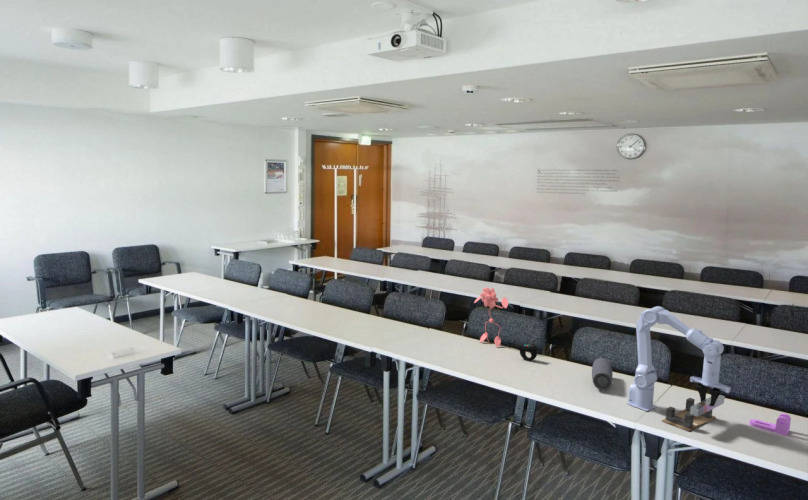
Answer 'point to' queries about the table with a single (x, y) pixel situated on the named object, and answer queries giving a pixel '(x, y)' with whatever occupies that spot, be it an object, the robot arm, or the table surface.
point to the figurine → (490, 300)
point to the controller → (524, 348)
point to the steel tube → (705, 406)
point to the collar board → (696, 420)
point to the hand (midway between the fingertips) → (707, 404)
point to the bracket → (780, 426)
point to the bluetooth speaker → (602, 374)
